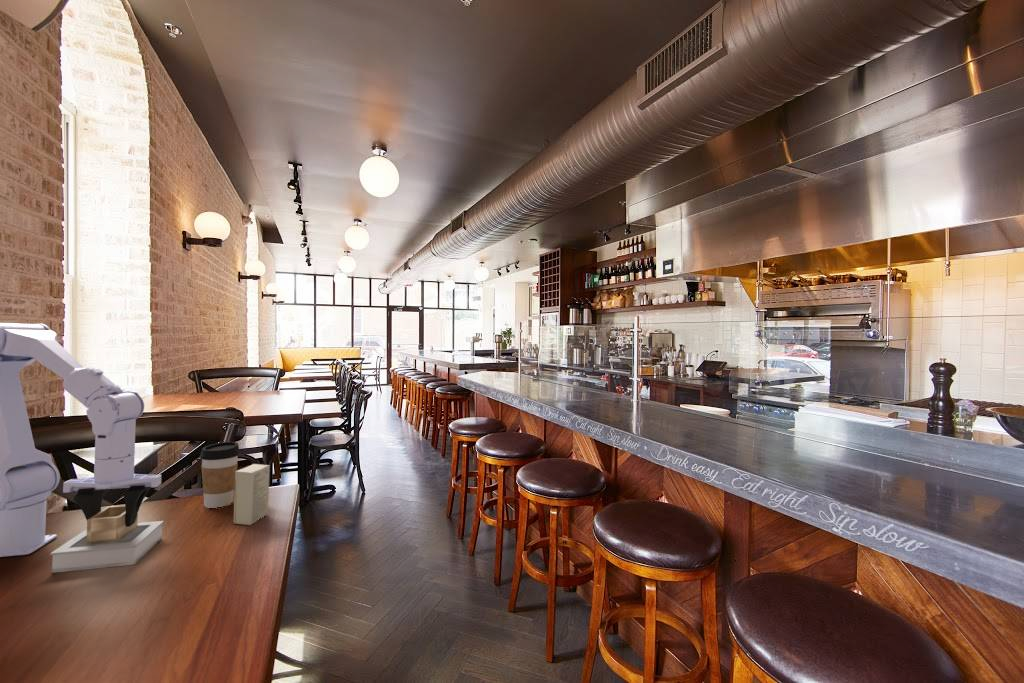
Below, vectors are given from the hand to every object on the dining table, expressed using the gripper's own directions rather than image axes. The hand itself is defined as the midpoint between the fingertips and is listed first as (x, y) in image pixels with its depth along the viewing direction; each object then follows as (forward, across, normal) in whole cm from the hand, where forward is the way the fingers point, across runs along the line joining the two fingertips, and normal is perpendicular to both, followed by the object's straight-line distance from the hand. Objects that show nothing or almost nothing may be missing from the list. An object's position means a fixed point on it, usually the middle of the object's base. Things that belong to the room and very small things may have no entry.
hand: (112, 526), depth 84 cm
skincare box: (+6, +21, +12) cm, 25 cm away
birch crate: (+2, 0, 0) cm, 2 cm away
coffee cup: (+6, +11, +24) cm, 27 cm away
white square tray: (+5, 0, 0) cm, 5 cm away
